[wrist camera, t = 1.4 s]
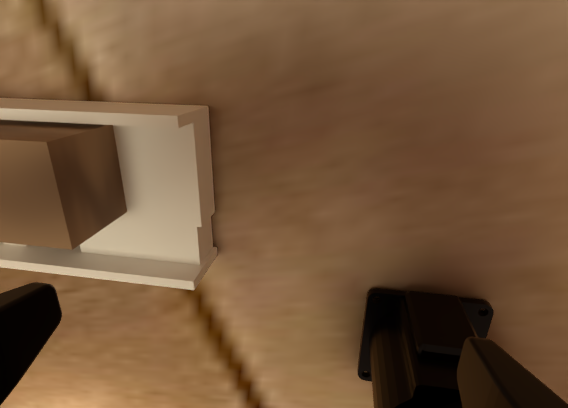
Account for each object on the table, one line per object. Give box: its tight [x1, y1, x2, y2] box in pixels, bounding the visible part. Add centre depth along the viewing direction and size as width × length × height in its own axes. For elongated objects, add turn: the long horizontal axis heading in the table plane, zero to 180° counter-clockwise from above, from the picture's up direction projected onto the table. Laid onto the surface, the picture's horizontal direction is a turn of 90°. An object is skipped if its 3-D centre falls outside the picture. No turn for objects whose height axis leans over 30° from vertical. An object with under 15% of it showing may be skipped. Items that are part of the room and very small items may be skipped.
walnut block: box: [0, 120, 127, 250], centre depth 16 cm, size 4×6×4 cm
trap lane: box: [0, 98, 218, 290], centre depth 19 cm, size 8×22×4 cm, turn 89°
